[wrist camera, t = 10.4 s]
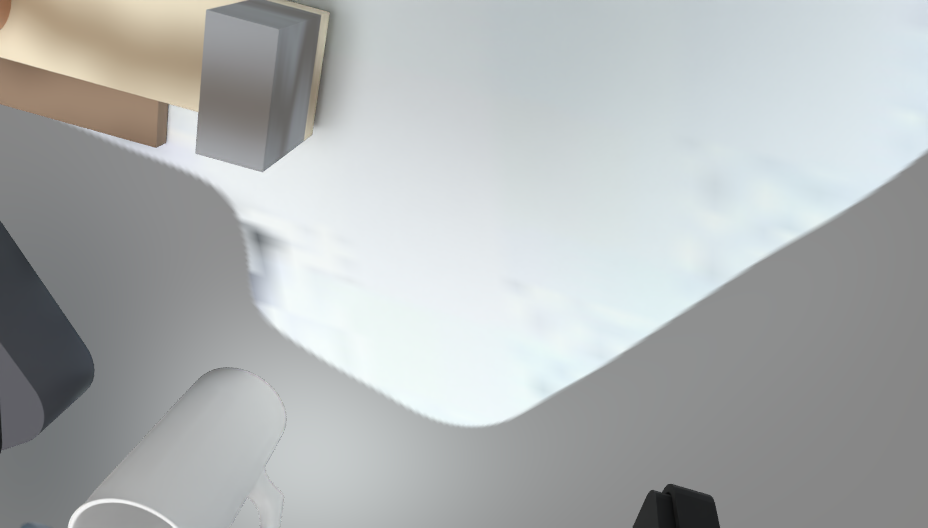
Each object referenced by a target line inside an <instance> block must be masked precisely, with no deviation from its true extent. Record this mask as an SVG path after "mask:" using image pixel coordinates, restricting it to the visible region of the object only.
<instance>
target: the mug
mask: <svg viewBox="0 0 928 528" xmlns="http://www.w3.org/2000/svg"><path fill="white" fill-rule="evenodd" d="M285 426H286V412H285V408H284V405H283V402H282V400H281V398H280V397H279V395H278V394H277V392H276V391H275V390H274V389H273V388H272V386H271V385H270V384H268V383H267V382H266V381H265V380H263V379H262V378H260V377H259V376H257V375H255V374H253V373H251V372H249V371H245V370H242V369H238V368H218V369H214V370H212V371H209V372H207V373H206V374H204V375H203V376H201V377H200V378H199V379H198V380H197V381H196V382H195V383H194V385H192V387H191V388H190V389H189V390H188V391H187V392H186V393H185V394H184V395H183V396H182V397H181V398H180V399H179V400H178V401H177V402H176V403H175V404H174V405H173V406H172V407H171V408H170V410H169V411H168V412H167V413H166V414H165V415H164V416H163V417H162V418H161V419H160V420H159V422H158V423H157V424H156V425H155V426H154V427H153V428H152V429H151V430H150V431H149V432H148V434H147V435H146V436H145V437H144V438H143V439H142V440H141V441H140V442H139V443H138V444H137V445H136V447H134V449H133V450H132V451H131V452H130V453H129V454H128V455H127V456H126V457H125V458H124V459H123V461H122V462H121V463H120V464H119V465H118V466H117V467H116V468H115V469H114V470H113V471H112V472H111V473H110V474H109V476H108V477H107V478H106V479H105V480H104V481H103V482H102V483H101V484H100V485H99V486H98V488H97V489H96V490H95V491H94V492H93V493H92V495H91V496H90V497H89V498H88V499H87V501H86V502H85V503H84V504H83V505H82V506H80V507H79V508H78V509H77V510H76V511H75V512H74V514H73V515H72V517H71V519H70V521H69V525H68V528H230V527H231V525H232V523H233V522H234V520H235V518H236V516H237V515H238V513H239V511H240V509H241V507H242V506H243V504H244V502H245V501H246V499H247V498H248V499H250V500H251V501H252V502H253V503H254V504H255V506H256V508H257V510H258V514H259V519H260V528H280V525H281V517H282V509H283V501H284V495H283V493H282V492H281V490H279V489H278V488H277V487H276V486H275V485H274V484H273V483H272V481H271V480H270V479H269V477H268V475H267V474H266V470H265V466H266V464H267V462H268V460H269V459H270V457H271V455H272V453H273V451H274V449H275V447H276V446H277V444H278V442H279V440H280V438H281V437H282V435H283V432H284V430H285Z"/></svg>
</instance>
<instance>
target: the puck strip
mask: <svg viewBox="0 0 928 528" xmlns="http://www.w3.org/2000/svg"><path fill="white" fill-rule="evenodd" d="M329 15H330V12H328V11H324V10H320V9H316V8H313V7H309V6H305V5H301V4H298V3H294V2H290V1H287V0H11V9H10V14H9V17H8V20H7V22H6V24H5V25H4V26H3V28H2V29H1V30H0V57H1V58H5V59H9V60H12V61H16V62H19V63H23V64H27V65H30V66H34V67H37V68H41V69H45V70H48V71H52V72H55V73H59V74H63V75H66V76H70V77H74V78H77V79H81V80H84V81H88V82H92V83H95V84H99V85H102V86H106V87H110V88H113V89H117V90H121V91H124V92H128V93H131V94H135V95H139V96H142V97H146V98H149V99H153V100H157V101H160V102H164V103H168V104H171V105H175V106H178V107H182V108H186V109H189V110H193V111H196V112H198V126H197V139H196V154H199V155H203V156H206V157H210V158H213V159H217V160H221V161H224V162H228V163H231V164H235V165H238V166H242V167H246V168H249V169H253V170H256V171H260V172H263V171H265V170H266V169H267V168H269V167H270V166H271V165H273V164H274V163H275V162H277V161H278V160H279V159H281V158H282V157H283V156H285V155H286V154H287V153H289V152H290V151H291V150H293V149H294V148H295V147H297V146H298V145H299V144H301V143H302V142H303V141H305V140H306V139H307V138H309V137H310V136H311V135H312V132H313V125H314V119H315V112H316V105H317V98H318V91H319V84H320V77H321V70H322V63H323V56H324V49H325V42H326V35H327V29H328V22H329Z"/></svg>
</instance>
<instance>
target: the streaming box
mask: <svg viewBox="0 0 928 528" xmlns="http://www.w3.org/2000/svg"><path fill="white" fill-rule="evenodd" d="M93 377H94V364H93V360H92V357H91V355H90V352H89V350H88V349H87V347H86V345H85V344H84V342H83V341H82V340H81V338H80V337H79V335H78V334H77V332H76V331H75V329H74V328H73V327H72V325H71V324H70V322H69V321H68V319H67V318H66V316H65V315H64V313H63V312H62V310H61V309H60V308H59V306H58V305H57V303H56V302H55V300H54V299H53V297H52V296H51V294H50V293H49V291H48V290H47V288H46V287H45V285H44V284H43V283H42V281H41V280H40V278H39V277H38V275H37V274H36V272H35V271H34V270H33V268H32V267H31V265H30V264H29V262H28V261H27V259H26V258H25V256H24V255H23V253H22V252H21V250H20V249H19V248H18V246H17V245H16V243H15V242H14V240H13V239H12V238H11V236H10V234H9V233H8V231H7V230H6V229H5V227H4V226H3V224H2V223H1V222H0V410H1V428H2V449H1V450H4V449H7V448H10V447H13V446H16V445H19V444H22V443H25V442H28V441H30V440H32V439H33V438H35V437H36V436H37V435H38V434H39V433H41V432H42V431H43V430H44V429H45V428H46V427H47V426H48V425H49V424H50V423H51V422H53V421H54V420H55V419H56V418H57V417H58V416H59V415H60V414H61V413H62V412H63V411H64V410H66V409H67V408H68V407H69V406H70V405H71V404H72V403H73V402H74V401H75V400H77V399H78V397H80V396H81V395H82V394H83V393H84V392H85V391H86V390H87V389H88V388H89V387H90V385H91V383H92V381H93Z"/></svg>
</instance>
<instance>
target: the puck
mask: <svg viewBox="0 0 928 528" xmlns="http://www.w3.org/2000/svg"><path fill="white" fill-rule="evenodd" d="M10 9H11V0H0V30H1V29H2V28H3V26H4V25H5V24H6V22H7V20H8V17H9V14H10Z"/></svg>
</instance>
